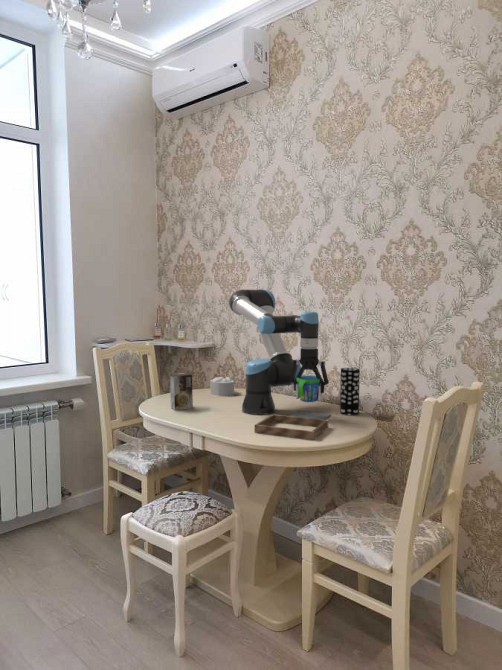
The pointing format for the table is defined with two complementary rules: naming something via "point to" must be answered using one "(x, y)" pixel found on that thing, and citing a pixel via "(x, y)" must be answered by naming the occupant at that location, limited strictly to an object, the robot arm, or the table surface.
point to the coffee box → (181, 391)
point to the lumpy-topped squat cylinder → (222, 386)
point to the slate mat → (311, 415)
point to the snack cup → (308, 388)
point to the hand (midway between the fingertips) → (308, 399)
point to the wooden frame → (287, 432)
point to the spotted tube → (349, 391)
